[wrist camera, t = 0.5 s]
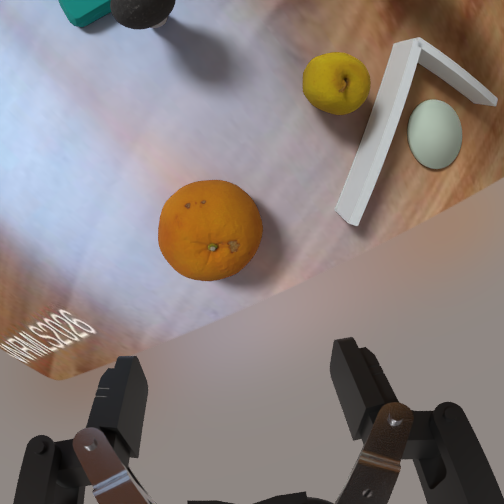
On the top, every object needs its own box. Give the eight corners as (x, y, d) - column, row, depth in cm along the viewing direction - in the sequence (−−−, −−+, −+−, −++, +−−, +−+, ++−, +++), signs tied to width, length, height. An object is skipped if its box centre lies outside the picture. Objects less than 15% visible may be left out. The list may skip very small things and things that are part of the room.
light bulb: (188, 34, 27) (177, 6, 18) (137, 50, 27) (106, 30, 18) (178, -8, 24) (164, -47, 15) (127, 8, 24) (97, -23, 15)
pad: (419, 87, 31) (422, 87, 30) (466, 119, 33) (469, 120, 32) (397, 151, 34) (400, 152, 34) (446, 178, 36) (449, 179, 36)
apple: (294, 113, 32) (316, 115, 24) (292, 56, 29) (314, 42, 22) (350, 114, 32) (384, 118, 25) (349, 60, 29) (382, 51, 22)
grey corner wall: (395, 39, 28) (415, 34, 24) (475, 96, 31) (497, 98, 27) (334, 209, 37) (348, 223, 33) (422, 241, 40) (439, 255, 36)
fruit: (251, 263, 39) (259, 300, 32) (163, 256, 37) (151, 292, 30) (264, 177, 34) (276, 197, 27) (167, 168, 33) (152, 186, 26)
